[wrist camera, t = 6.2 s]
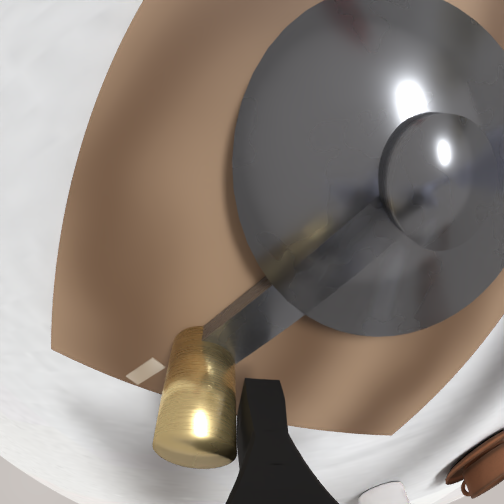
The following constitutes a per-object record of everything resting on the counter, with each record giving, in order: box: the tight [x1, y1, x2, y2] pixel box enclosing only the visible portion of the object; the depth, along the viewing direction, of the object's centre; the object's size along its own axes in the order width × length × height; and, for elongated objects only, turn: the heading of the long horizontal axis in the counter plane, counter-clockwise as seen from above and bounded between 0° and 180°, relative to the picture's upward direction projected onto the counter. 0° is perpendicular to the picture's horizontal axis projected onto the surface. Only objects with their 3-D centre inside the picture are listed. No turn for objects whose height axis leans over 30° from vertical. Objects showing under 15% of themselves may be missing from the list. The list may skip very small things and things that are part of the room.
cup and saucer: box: [446, 431, 504, 498], centre depth 22 cm, size 12×12×6 cm
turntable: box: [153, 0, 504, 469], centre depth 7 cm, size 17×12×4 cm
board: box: [51, 0, 504, 435], centre depth 9 cm, size 20×26×1 cm
